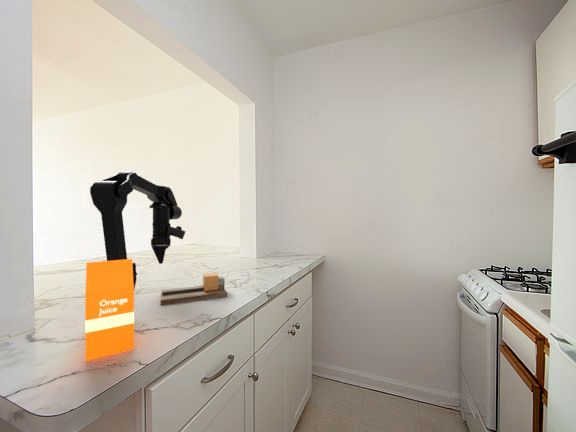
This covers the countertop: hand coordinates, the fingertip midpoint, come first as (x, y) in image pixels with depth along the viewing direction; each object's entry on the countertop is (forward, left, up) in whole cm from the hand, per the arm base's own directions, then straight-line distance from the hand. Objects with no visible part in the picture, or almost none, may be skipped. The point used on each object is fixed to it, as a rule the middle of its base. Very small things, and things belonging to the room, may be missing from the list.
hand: (161, 261), depth 99 cm
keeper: (-8, -17, -10) cm, 21 cm away
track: (-8, -11, -12) cm, 18 cm away
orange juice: (-39, +10, -12) cm, 42 cm away
